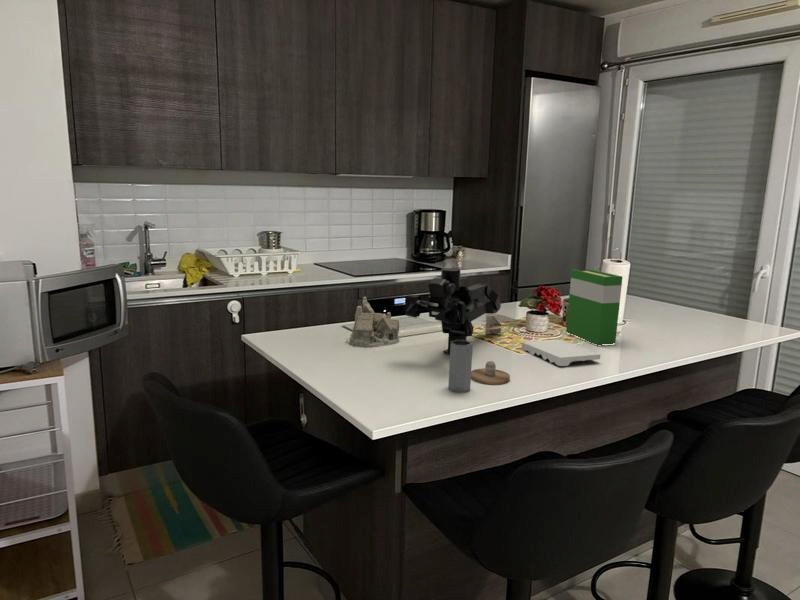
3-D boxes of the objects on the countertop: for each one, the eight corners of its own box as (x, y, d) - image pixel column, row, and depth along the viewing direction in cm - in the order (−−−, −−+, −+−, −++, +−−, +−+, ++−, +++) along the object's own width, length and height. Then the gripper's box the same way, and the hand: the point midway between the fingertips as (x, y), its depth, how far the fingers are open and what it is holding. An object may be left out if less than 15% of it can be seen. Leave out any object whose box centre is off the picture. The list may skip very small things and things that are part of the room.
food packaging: (521, 352, 195) (559, 368, 176) (522, 342, 194) (560, 357, 176) (559, 349, 200) (599, 365, 182) (559, 339, 200) (600, 354, 181)
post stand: (480, 369, 172) (481, 353, 171) (515, 377, 166) (516, 360, 165) (463, 379, 163) (464, 362, 162) (500, 387, 157) (501, 370, 156)
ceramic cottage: (342, 344, 192) (347, 299, 190) (360, 335, 208) (364, 293, 205) (388, 353, 188) (392, 307, 186) (402, 342, 204) (407, 300, 201)
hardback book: (565, 333, 218) (571, 269, 213) (582, 332, 221) (588, 268, 216) (597, 346, 202) (605, 277, 197) (615, 344, 205) (622, 276, 200)
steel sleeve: (448, 384, 158) (450, 339, 156) (469, 385, 158) (472, 340, 155) (448, 391, 153) (450, 345, 150) (470, 392, 152) (473, 346, 150)
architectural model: (503, 336, 212) (504, 316, 211) (488, 338, 209) (490, 318, 207) (497, 334, 215) (498, 314, 214) (482, 336, 211) (483, 316, 210)
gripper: (418, 274, 179) (392, 283, 166) (475, 281, 170) (452, 291, 157) (418, 309, 182) (392, 321, 169) (474, 318, 173) (450, 331, 160)
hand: (420, 315), depth 164 cm, fingers open, 9 cm apart
